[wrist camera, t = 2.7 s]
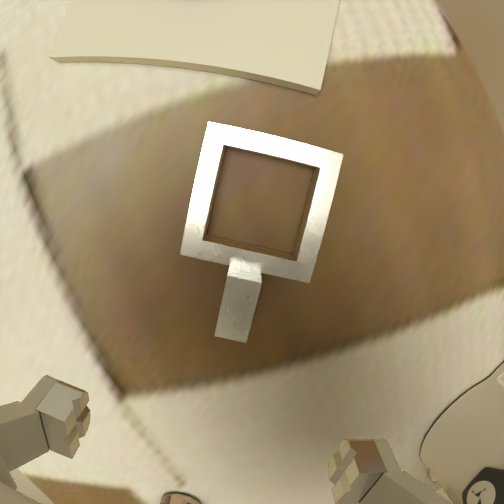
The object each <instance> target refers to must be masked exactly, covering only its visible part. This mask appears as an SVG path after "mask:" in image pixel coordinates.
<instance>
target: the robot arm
mask: <svg viewBox="0 0 504 504" xmlns="http://www.w3.org/2000/svg"><path fill="white" fill-rule="evenodd" d="M88 402H89V395H88V392H87V391H85V390H82V389H79V388H77V387H74V386H72V385H70V384H67V383H65V382H62V381H59V380H57V379H55V378H52V377H50V376H48V375H46V376H44V377H42V379H41V380H40V381H39V382H38V383H37V384H36V386H35V387H34V388H33V389H32V390H31V391H30V393H29V394H28V395H27V396H26V397H25V399H24V400H23V401H22V402H21V403H20V402H18V401H16V402H13V403H10V404H6V405H3V406H0V504H42V503H39V502H37V501H35V500H34V499H32V498H30V497H28V496H26V495H24V494H22V493H20V492H18V491H17V490H16V489H17V486H16V483H15V481H14V479H13V478H12V476H11V474H10V471H12V470H14V469H16V468H18V467H20V466H22V465H24V464H26V463H27V462H29V461H31V460H33V459H35V458H37V457H39V456H41V455H42V454H44V453H46V452H48V451H49V450H51V451H54V452H56V453H59V454H61V455H64V456H66V457H69V458H71V459H73V457H74V455H75V453H76V451H77V449H78V448H79V446H80V443H79V438H81V437H83V436H85V434H86V432H87V430H88V427H89V424H90V410H89V408H88V407H87V403H88ZM338 448H339V452H337V453H335V454H334V455H333V456H332V458H331V460H330V461H329V466H328V476H329V480H330V481H331V482H333V483H334V484H335V485H334V487H333V488H332V493H333V497H334V501H335V504H358V503H359V504H451V502H449V501H448V500H446V499H445V498H443V497H442V496H440V495H439V494H437V493H436V492H434V491H433V490H431V489H430V488H428V487H427V486H425V485H424V484H422V483H421V482H420V481H418V480H417V479H415V478H414V477H412V476H411V475H410V474H408V473H407V472H405V471H401V470H400V468H399V466H398V464H397V461H396V459H395V457H394V455H393V453H392V451H391V449H390V446H389V444H388V442H387V441H386V440H385V439H344V440H343V441H341V443H340V444H339V446H338ZM420 456H421V460H422V462H423V463H424V464H425V465H426V466H427V467H428V468H429V477H430V478H431V479H432V481H433V482H437V481H438V482H439V484H440V485H441V487H442V488H443V489H444V491H445V492H446V494H447V495H448V497H449V498H450V500H451V501H452V502H453V504H504V362H503V363H502V364H501V365H500V366H499V367H498V369H497V370H496V371H495V372H494V373H493V374H492V375H491V376H490V377H489V378H487V379H486V380H484V381H483V382H481V383H480V384H478V385H476V386H475V387H473V388H472V389H470V390H469V391H468V392H466V393H465V394H464V395H462V396H461V397H460V398H459V399H458V400H457V401H455V402H454V403H453V404H452V405H451V406H450V407H449V408H448V409H447V410H446V411H445V412H444V413H443V414H442V415H441V417H440V418H439V419H438V420H437V421H436V423H435V424H434V425H433V427H432V428H431V429H430V431H429V432H428V434H427V436H426V438H425V440H424V442H423V444H422V447H421V453H420Z"/></svg>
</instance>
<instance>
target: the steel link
mask: <svg viewBox="0 0 504 504" xmlns="http://www.w3.org/2000/svg"><path fill="white" fill-rule="evenodd" d="M226 147H228V148H232V149H237V150H242V151H246V152H251V153H255V154H259V155H264V156H268V157H272V158H276V159H280V160H284V161H288V162H292V163H296V164H300V165H304V166H308V167H311V168H314V172H313V176H312V180H311V184H310V188H309V192H308V196H307V200H306V204H305V208H304V212H303V216H302V220H301V224H300V228H299V232H298V236H297V239H296V243H295V247H294V251H293V254H291V253H286V252H282V251H277V250H273V249H269V248H264V247H260V246H255V245H251V244H247V243H242V242H238V241H233V240H229V239H225V238H220V237H216V236H211V235H207V230H208V225H209V220H210V216H211V211H212V206H213V202H214V197H215V192H216V188H217V183H218V179H219V175H220V170H221V166H222V162H223V157H224V153H225V149H226ZM342 158H343V154H340V153H337V152H333V151H330V150H327V149H323V148H320V147H316V146H312V145H309V144H305V143H301V142H298V141H294V140H290V139H286V138H282V137H278V136H274V135H270V134H265V133H261V132H257V131H252V130H248V129H243V128H238V127H233V126H229V125H224V124H218V123H213V122H208V126H207V130H206V134H205V138H204V142H203V146H202V151H201V155H200V159H199V164H198V168H197V173H196V177H195V182H194V187H193V191H192V196H191V201H190V206H189V211H188V216H187V221H186V226H185V231H184V236H183V242H182V247H181V253H180V254H181V255H185V256H189V257H194V258H198V259H202V260H207V261H211V262H215V263H220V264H224V265H229V266H230V267H229V271H228V275H227V279H226V284H225V289H224V293H223V298H222V302H221V307H220V312H219V316H218V321H217V326H216V330H215V335H214V336H216V337H221V338H225V339H230V340H235V341H240V342H245V343H246V342H247V338H248V335H249V331H250V327H251V323H252V319H253V315H254V312H255V308H256V304H257V300H258V296H259V292H260V288H261V284H262V279H261V273H265V274H269V275H274V276H278V277H283V278H287V279H292V280H297V281H301V282H306V283H310V280H311V276H312V273H313V269H314V266H315V262H316V259H317V255H318V252H319V248H320V245H321V241H322V237H323V233H324V230H325V226H326V222H327V218H328V215H329V211H330V207H331V203H332V199H333V195H334V191H335V187H336V183H337V179H338V175H339V171H340V166H341V162H342Z"/></svg>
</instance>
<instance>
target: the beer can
mask: <svg viewBox="0 0 504 504" xmlns="http://www.w3.org/2000/svg"><path fill="white" fill-rule="evenodd" d="M160 504H200V503H199V502H198V501H197V500H195V499H193V498H192V497H190V496H188V495H184V494H178V493H174V494H167V495H164V496H163V497H162V499H161V502H160Z"/></svg>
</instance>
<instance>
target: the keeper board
mask: <svg viewBox="0 0 504 504" xmlns="http://www.w3.org/2000/svg"><path fill="white" fill-rule="evenodd" d="M338 4H339V0H72V1H71V3H70V5H69V7H68V10H67V12H66V14H65V17H64V19H63V22H62V24H61V27H60V29H59V32H58V34H57V37H56V40H55V42H54V45H53V48H52V51H51V54H50V56H49V58H51V59H53V60H55V61H57V62H115V63H134V64H148V65H159V66H169V67H178V68H186V69H193V70H201V71H207V72H214V73H220V74H225V75H231V76H236V77H242V78H247V79H252V80H256V81H261V82H266V83H270V84H274V85H279V86H283V87H287V88H291V89H295V90H298V91H302V92H306V93H310V94H313V95H317V94H318V92H319V91H320V90H321V85H322V81H323V76H324V72H325V67H326V62H327V58H328V53H329V48H330V43H331V39H332V34H333V29H334V24H335V19H336V14H337V9H338Z"/></svg>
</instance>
